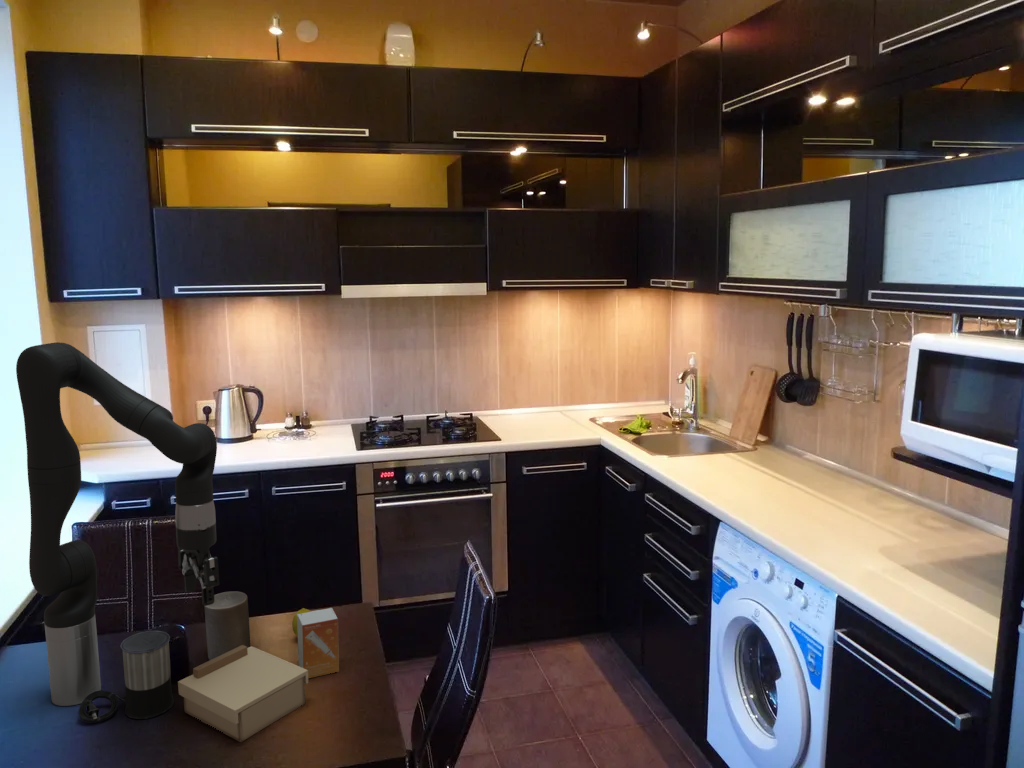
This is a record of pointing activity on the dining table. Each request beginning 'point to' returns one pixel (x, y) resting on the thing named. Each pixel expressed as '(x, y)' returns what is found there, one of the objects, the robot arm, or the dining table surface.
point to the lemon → (294, 622)
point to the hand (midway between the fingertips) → (199, 597)
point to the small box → (318, 642)
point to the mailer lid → (238, 680)
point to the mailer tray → (253, 712)
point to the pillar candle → (227, 623)
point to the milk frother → (139, 679)
